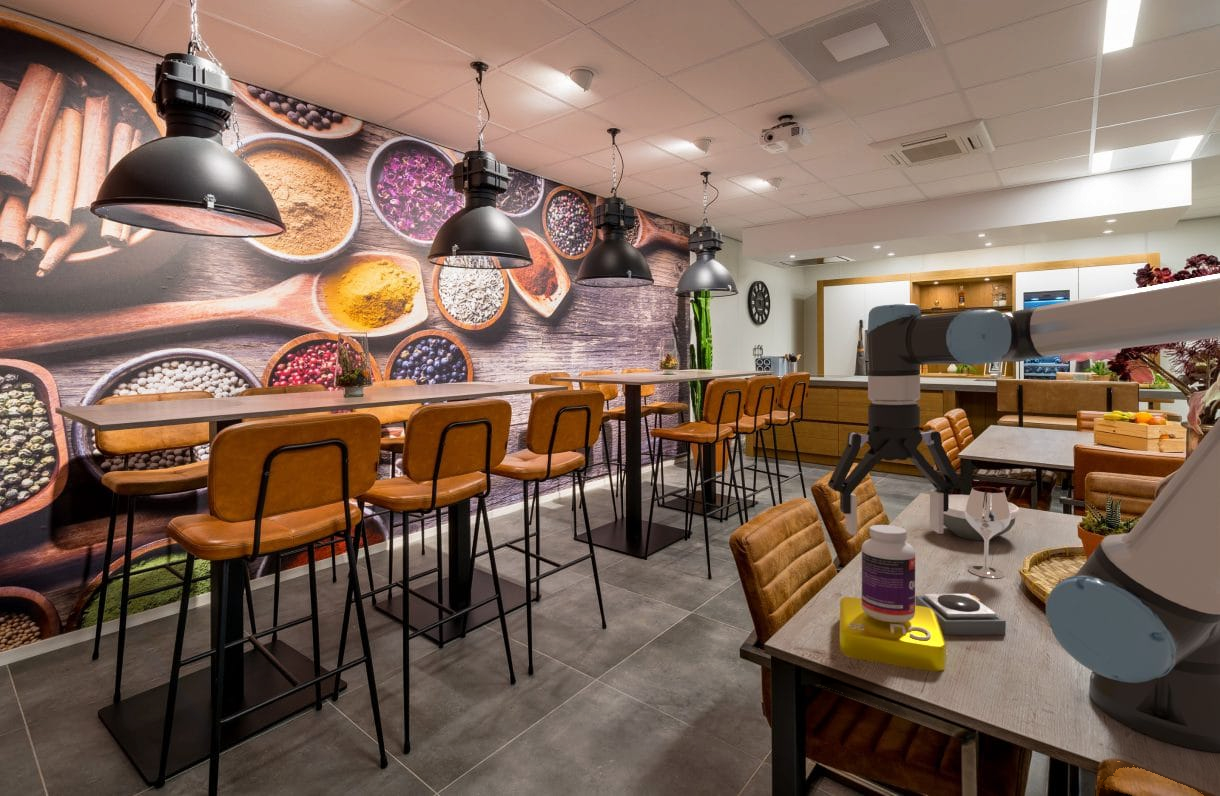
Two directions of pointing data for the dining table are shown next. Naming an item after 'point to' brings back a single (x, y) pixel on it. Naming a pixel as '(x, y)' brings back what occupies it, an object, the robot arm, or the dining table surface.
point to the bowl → (959, 524)
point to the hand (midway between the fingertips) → (893, 532)
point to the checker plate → (959, 607)
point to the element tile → (892, 638)
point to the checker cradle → (967, 623)
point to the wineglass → (987, 521)
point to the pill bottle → (888, 575)
